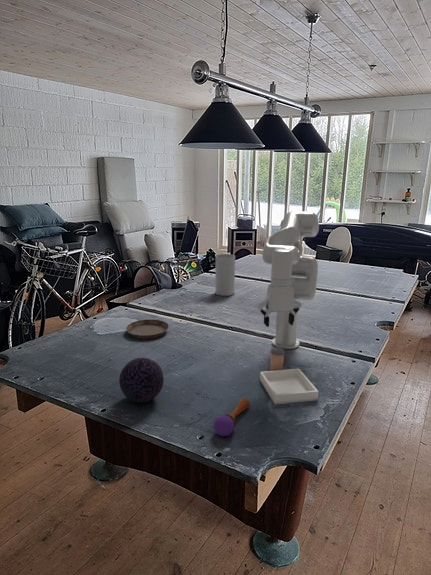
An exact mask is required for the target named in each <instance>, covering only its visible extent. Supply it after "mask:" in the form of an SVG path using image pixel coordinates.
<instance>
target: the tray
mask: <svg viewBox="0 0 431 575" xmlns="http://www.w3.org/2000/svg"><path fill="white" fill-rule="evenodd" d="M259 381H260V383H261V384H262V386H263V388H264V389H265V391H266V392H267V395H269V397H270V399H271V401H272V402H273V404H274V405H275V406H276V405H286V404H296V403H304V402H315V401H316V402H317V401H318V400H319V390H318V388H316V387H315V385H314V384H313V383H312V382H311V381H310V380H309V378H308V377H307V376H306V375H305V374H304V372H303V371H302V370H301V369H300V367H299V368H289V369H283V370H275V371H270V370H265V371H264V370H263V371H260V372H259Z"/></svg>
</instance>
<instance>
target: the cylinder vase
mask: <svg viewBox="0 0 431 575" xmlns="http://www.w3.org/2000/svg"><path fill="white" fill-rule="evenodd" d="M235 280H236V255H234V254H230V253H221V254H216V255H215V287H214V288H215V292H214V293H215V294H216V295H217V296H223V297H226V296H227V297H228V296H229V297H230V296H233V295H234V294H235V291H236V290H235V288H236V286H235V284H236V282H235Z"/></svg>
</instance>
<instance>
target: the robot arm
mask: <svg viewBox="0 0 431 575" xmlns="http://www.w3.org/2000/svg"><path fill="white" fill-rule="evenodd" d="M279 228H280V229H279V230H277V231H275V232H274V233H271V235H269V236H268V237H267V238H266V240H265V242H264V245H263V249H262V260H263V262H264V263H266V264H268V265H271V267H270V268H271V269H270V271H271V272H270V284H268V286H267V290H266V296H265V300H264V301H262V302H261V303H259V304H257V308H258V311H259V312H260V313H261V314H262V315H263V324H264V326H265V327H267V328H268V327H270V316H269V315H270V314H272V313H276V315H275V316H276V318H275V319H276V320H275V322H276V323H275V337H274V338H273V339H271V345H273V346H274V348H275V347H278V348H282V349H284V350H291V349H293V350H294V349H296V348H298V347H299V346H300V341H299V340H298V339H297V334H298V332H297V331H298V318H299V317H298V316H299V311H300V308H301V307H302V302H300V301H311V300H312V301H313V299H315V297H316V293H317V283H318V282H317V281H318V270H319V265H318V260H317V259H316V258H315V257H313V256H306V255H305V256H303V251H304V248H303V245H302V244H301V242H300V241H299V240H300V238H301V237H304V238H305V237H306V238H314V237H316V236H317V235H318V233H319V231H320V222H319V218H318V215H317V214H316V213H315V212H314V211H299V210H298V211H289V212H287V213H286V214H285V215H284V217H283V219H282V220H281V222H280V225H279ZM297 300H299V301H297ZM264 307H265V308H266V309H265V310H264V309H263V308H264Z"/></svg>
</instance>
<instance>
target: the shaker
mask: <svg viewBox="0 0 431 575" xmlns="http://www.w3.org/2000/svg"><path fill="white" fill-rule="evenodd" d="M284 356H285V349H282V348H278V347H275V346H274V347H272V348H271V349H270V365H269V367H270V369H269V371H275V370H284Z"/></svg>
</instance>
